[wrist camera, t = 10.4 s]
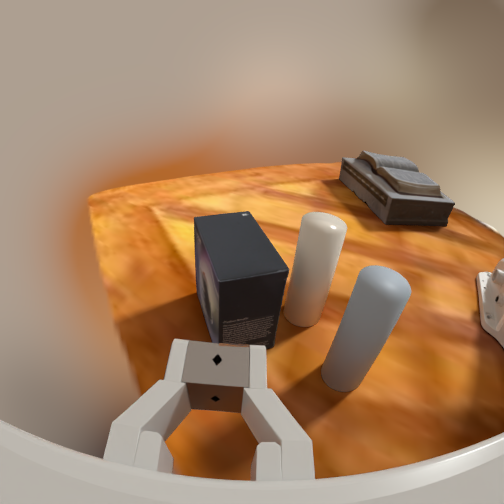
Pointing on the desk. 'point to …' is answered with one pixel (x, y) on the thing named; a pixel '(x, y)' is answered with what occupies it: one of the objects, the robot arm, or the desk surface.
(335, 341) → the slate post
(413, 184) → the bible
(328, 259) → the cream post
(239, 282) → the small box
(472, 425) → the desk surface
